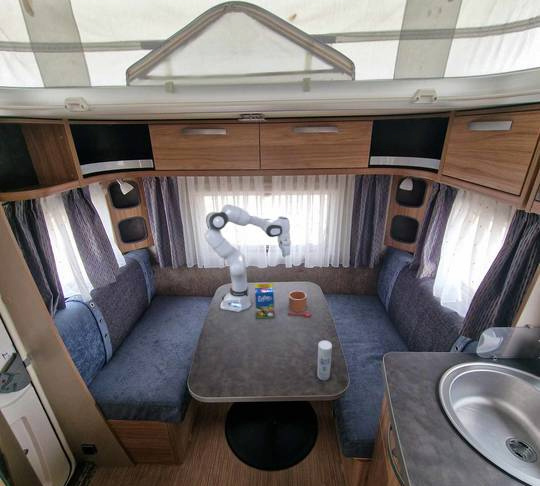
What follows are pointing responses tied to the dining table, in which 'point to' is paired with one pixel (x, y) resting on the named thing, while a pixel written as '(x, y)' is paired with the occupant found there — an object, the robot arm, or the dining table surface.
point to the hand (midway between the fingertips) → (284, 256)
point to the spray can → (324, 359)
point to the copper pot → (297, 301)
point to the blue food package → (264, 300)
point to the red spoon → (300, 314)
